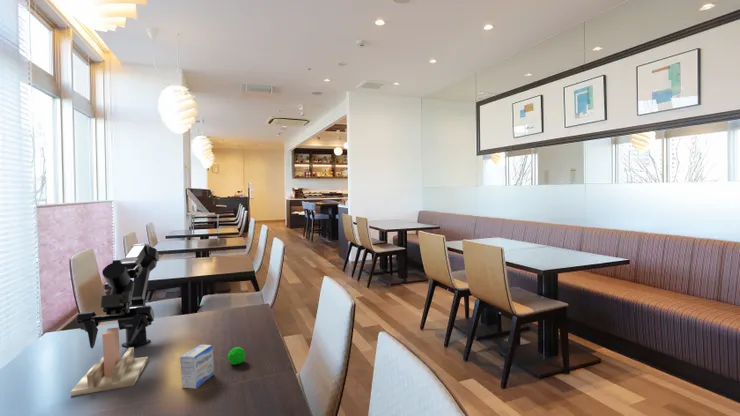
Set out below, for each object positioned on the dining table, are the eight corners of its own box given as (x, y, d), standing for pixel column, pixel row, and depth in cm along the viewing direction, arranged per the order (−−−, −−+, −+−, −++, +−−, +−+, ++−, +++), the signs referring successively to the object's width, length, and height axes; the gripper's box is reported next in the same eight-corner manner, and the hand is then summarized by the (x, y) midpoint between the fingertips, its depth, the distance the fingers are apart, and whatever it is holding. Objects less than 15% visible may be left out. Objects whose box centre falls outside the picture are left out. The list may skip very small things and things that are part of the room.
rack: (94, 368, 110) (93, 352, 109) (148, 360, 114) (147, 345, 114) (70, 396, 94) (69, 378, 94) (133, 385, 99) (132, 368, 99)
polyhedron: (249, 360, 112) (248, 345, 112) (238, 368, 107) (238, 352, 107) (235, 359, 113) (234, 344, 113) (224, 366, 109) (223, 350, 109)
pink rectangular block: (110, 369, 106) (107, 328, 105) (120, 368, 107) (118, 327, 106) (104, 376, 102) (102, 334, 101) (115, 375, 102) (113, 332, 102)
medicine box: (195, 389, 96) (194, 357, 96) (180, 388, 97) (179, 356, 97) (214, 374, 104) (213, 344, 103) (200, 373, 105) (199, 343, 104)
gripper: (75, 285, 105) (59, 338, 95) (150, 279, 111) (142, 327, 101) (88, 304, 113) (75, 355, 103) (157, 297, 119) (150, 344, 109)
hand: (111, 345), depth 104 cm, fingers open, 9 cm apart
